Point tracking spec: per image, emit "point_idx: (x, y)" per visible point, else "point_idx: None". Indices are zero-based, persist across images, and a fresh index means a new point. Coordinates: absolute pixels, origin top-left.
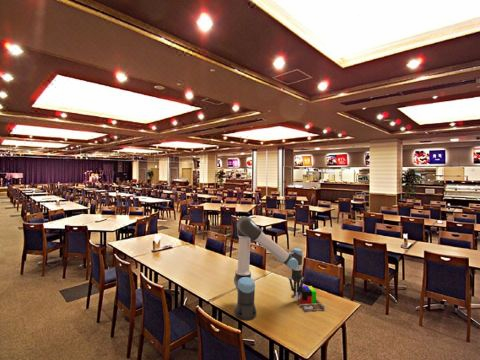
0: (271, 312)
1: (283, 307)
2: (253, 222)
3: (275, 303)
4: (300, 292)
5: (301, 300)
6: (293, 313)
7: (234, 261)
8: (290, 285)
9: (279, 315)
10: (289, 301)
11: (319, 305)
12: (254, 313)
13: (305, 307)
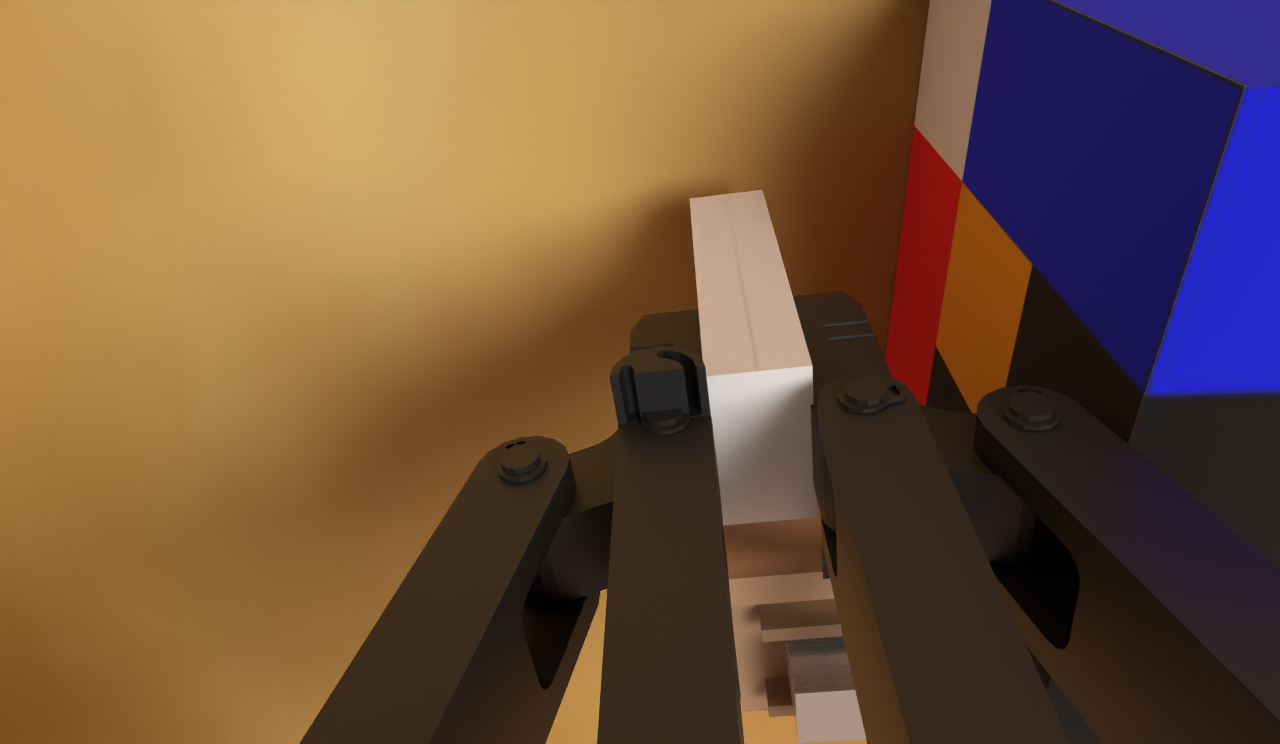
0: (43, 664)
1: (300, 498)
2: None
3: (47, 308)
4: (1028, 270)
5: (918, 289)
6: None
7: None
8: (347, 683)
9: (224, 739)
10: (508, 171)
11: None
12: None
13: (813, 739)
